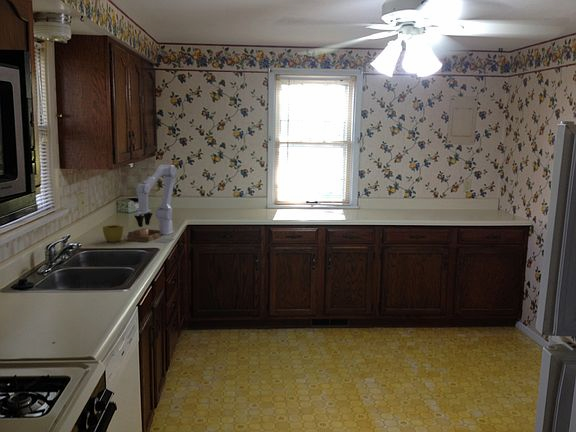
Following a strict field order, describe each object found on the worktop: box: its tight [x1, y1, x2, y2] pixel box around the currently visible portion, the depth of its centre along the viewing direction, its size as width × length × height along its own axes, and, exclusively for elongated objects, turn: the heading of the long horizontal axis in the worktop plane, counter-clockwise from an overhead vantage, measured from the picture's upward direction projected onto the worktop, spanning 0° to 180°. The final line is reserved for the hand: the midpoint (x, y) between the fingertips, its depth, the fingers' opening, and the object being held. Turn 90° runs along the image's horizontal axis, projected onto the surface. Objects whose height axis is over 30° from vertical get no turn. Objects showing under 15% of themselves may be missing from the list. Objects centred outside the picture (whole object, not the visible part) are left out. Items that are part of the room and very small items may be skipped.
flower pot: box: [102, 224, 124, 243], centre depth 337 cm, size 9×9×9 cm
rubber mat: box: [153, 237, 176, 244], centre depth 342 cm, size 12×8×1 cm, turn 162°
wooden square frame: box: [126, 228, 162, 243], centre depth 346 cm, size 14×14×4 cm
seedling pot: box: [139, 227, 149, 237], centre depth 345 cm, size 5×5×6 cm
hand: (143, 225), depth 345 cm, fingers open, 7 cm apart
